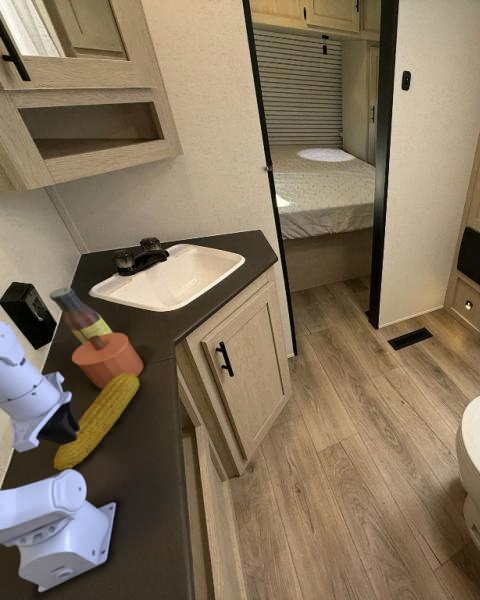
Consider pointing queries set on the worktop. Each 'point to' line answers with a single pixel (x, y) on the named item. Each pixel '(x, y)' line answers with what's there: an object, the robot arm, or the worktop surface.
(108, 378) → the pot
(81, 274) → the worktop surface
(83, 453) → the food
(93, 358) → the pot lid
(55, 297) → the sauce bottle
